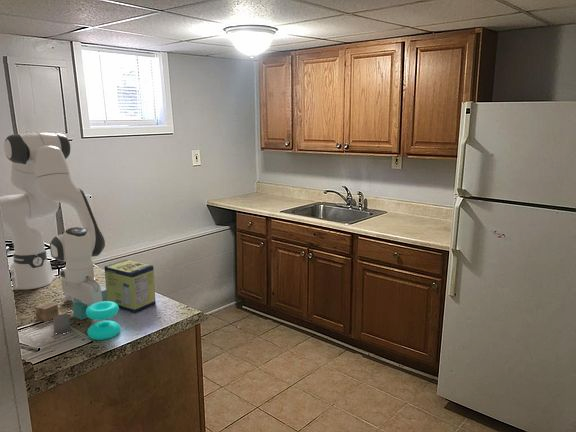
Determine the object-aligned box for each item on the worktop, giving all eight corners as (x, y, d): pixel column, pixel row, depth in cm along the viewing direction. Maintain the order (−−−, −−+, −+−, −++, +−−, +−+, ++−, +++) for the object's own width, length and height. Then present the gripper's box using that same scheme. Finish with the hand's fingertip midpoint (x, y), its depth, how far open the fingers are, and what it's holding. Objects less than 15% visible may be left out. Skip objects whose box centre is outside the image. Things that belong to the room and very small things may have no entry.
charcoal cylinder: (51, 332, 152) (49, 317, 151) (66, 326, 156) (64, 312, 155) (59, 336, 149) (57, 321, 148) (74, 330, 153) (72, 316, 152)
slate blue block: (90, 301, 178) (89, 289, 177) (103, 298, 181) (102, 286, 180) (95, 305, 174) (94, 292, 173) (108, 301, 178) (107, 289, 177)
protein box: (128, 296, 183) (125, 259, 180) (156, 304, 176) (154, 265, 172) (106, 305, 174) (103, 266, 171) (135, 313, 167) (132, 273, 164)
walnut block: (36, 320, 161) (34, 306, 160) (49, 314, 165) (47, 301, 164) (45, 322, 159) (44, 309, 158) (58, 317, 163) (57, 304, 162)
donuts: (87, 301, 152) (119, 298, 155) (89, 329, 154) (121, 326, 156) (83, 313, 142) (117, 310, 145) (85, 343, 144) (119, 339, 147)
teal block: (73, 316, 164) (72, 303, 163) (86, 312, 168) (85, 299, 167) (81, 320, 161) (80, 306, 160) (94, 315, 165) (93, 302, 164)
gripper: (105, 277, 158) (108, 315, 161) (73, 266, 170) (76, 301, 173) (88, 282, 153) (91, 321, 156) (56, 270, 165) (60, 306, 168)
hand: (83, 310), depth 164 cm, fingers open, 6 cm apart
